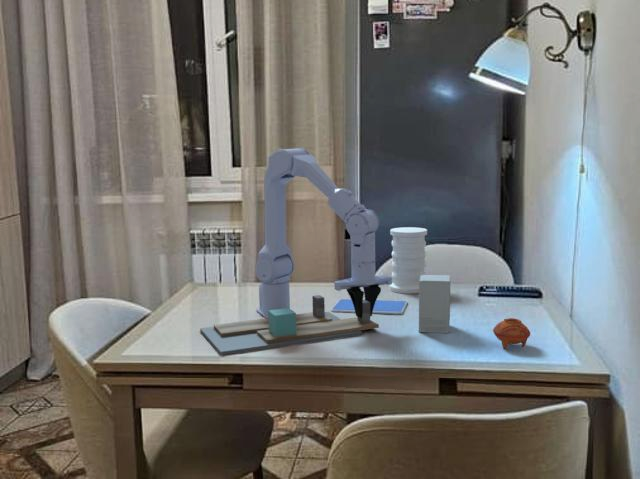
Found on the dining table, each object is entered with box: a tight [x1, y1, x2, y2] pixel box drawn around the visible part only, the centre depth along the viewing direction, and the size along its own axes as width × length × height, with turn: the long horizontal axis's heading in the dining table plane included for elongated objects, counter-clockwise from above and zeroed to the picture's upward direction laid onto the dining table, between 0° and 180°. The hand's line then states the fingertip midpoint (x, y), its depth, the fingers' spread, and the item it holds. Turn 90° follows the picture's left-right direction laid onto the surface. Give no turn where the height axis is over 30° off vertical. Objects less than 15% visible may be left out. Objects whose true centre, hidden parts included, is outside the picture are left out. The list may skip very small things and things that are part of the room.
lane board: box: [199, 311, 363, 356], centre depth 168 cm, size 20×34×1 cm, turn 112°
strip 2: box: [257, 299, 380, 344], centre depth 165 cm, size 8×28×6 cm, turn 112°
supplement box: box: [418, 274, 451, 334], centre depth 168 cm, size 7×7×13 cm
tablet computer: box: [330, 298, 409, 316], centre depth 190 cm, size 19×13×1 cm, turn 76°
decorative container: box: [388, 226, 428, 295], centre depth 209 cm, size 12×12×18 cm
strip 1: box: [213, 294, 332, 337], centre depth 171 cm, size 8×28×6 cm, turn 112°
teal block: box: [268, 308, 297, 337], centre depth 162 cm, size 5×5×5 cm
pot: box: [492, 317, 531, 350], centre depth 154 cm, size 8×8×7 cm
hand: (363, 316), depth 170 cm, fingers closed on strip 2, 2 cm apart
